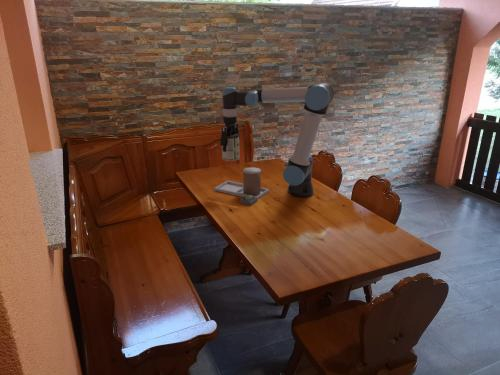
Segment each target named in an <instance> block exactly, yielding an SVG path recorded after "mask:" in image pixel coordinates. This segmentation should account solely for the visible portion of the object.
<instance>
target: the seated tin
mask: <svg viewBox="0 0 500 375" xmlns="http://www.w3.org/2000/svg"><path fill="white" fill-rule="evenodd" d="M242 174H243V175H242V176H243V178H242V184H243V194H247V195H252V196H258V195H259V194H260V189H261V188H262V187H261V184H262V182H261V179H262V170H261V168H258V167H253V166H251V167H246V168H243V170H242Z"/></svg>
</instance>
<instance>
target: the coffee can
mask: <svg viewBox="0 0 500 375" xmlns="http://www.w3.org/2000/svg"><path fill="white" fill-rule="evenodd" d="M239 135H240V133H239V134H238V133H236V134H230V135H229V136H226V139H227V140H228V143H227V146H228V157H223V146H221V159H222V160H223V161H226V162H233V161H238V160H240V141H239Z"/></svg>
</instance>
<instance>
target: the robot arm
mask: <svg viewBox="0 0 500 375" xmlns="http://www.w3.org/2000/svg"><path fill="white" fill-rule="evenodd" d="M334 97H335V91H334V89H333V87H332V85H330V84H329V83H326V82H319V83H316V84H309V85H308V86H302V87H301V86H300V87H299V86H298V87H297V86H296V87H280V88H279V87H278V88H263V89H262V88H261V89H260V88H254V89H251V90H247V91H238V90H237V87H234V86H226V87H223V88H222V116H223V117H222V120H223V122H222V123H223V124H224V127H223V126H222V127H221V134H220V143H219V145H220V146H221V147H222V146H223V157H228V146H227V143H228V140H227V139H226V136H229V135H230V134H236V133H238V134H239V142H240V140H241V136H240V130H239V124H238V120H237V119H238V118H237V117H238V116H237V110H238V108H237V106H238V107H239V106H241V107H249V108H250V107H256V106H257V105H258V104H262V103H264V104H266V103H268V104H270V103H293V102H294V103H296V102H297V103H298V102H304V105H303V111H304V116H303V119H302V122H301V126H300V130H299V133H298V136H297V140H296V143H295V146H294V151H293V154H292V155H291V156H289V157H288V160H287V164H286V167H285V168H284V169H283V172H282V176H283V180H284V181H285V182H286V183H287V184H288V187H287V191H288V193H289V194H290V195H291V196H294V197H297V198H306V197H307V198H308V197H311V196H313V194H314V192H315V191H314V190H315V189H314V186H313V183H312V175H313V163H314V159H313V156H312V155H311V152H312V149H313V146H314V142H315V140H316V136H317V134H318V130H319V127H320V124H321V121H322V118H323V117H324V116H326V114H327V111H328V110H329V109H328V108H329V105H330V104H331V103H332V101H333V100H334Z"/></svg>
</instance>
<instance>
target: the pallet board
mask: <svg viewBox="0 0 500 375" xmlns="http://www.w3.org/2000/svg"><path fill="white" fill-rule="evenodd" d="M213 192H214V193H215V192H221V193H223V194H227V195H232V196H233V195H234V196H237V197H241V198H243V197H245V195H247V194H243V182H242V183H241V182H237V181H232V180H226V181H224V182H222V183H221V184H219V185H217V186H215V187H213ZM268 193H270V188H265V187H261V189H260V194H259V195H258V196H253V197H257V198H258V200H259V199H261V198H262V197H264V196H265V195H267V194H268Z"/></svg>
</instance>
